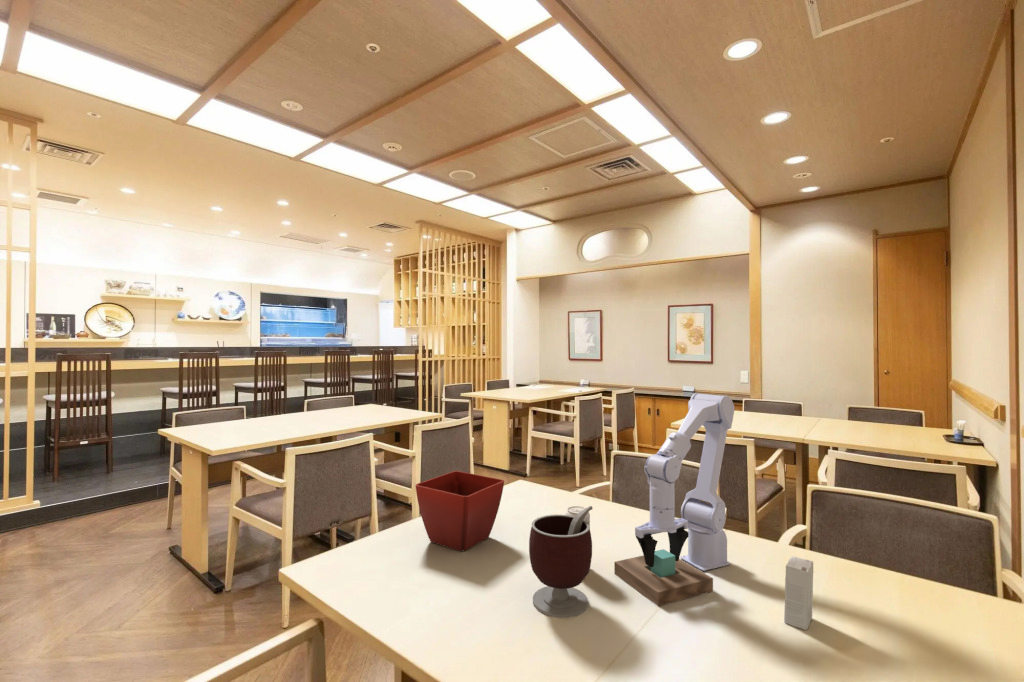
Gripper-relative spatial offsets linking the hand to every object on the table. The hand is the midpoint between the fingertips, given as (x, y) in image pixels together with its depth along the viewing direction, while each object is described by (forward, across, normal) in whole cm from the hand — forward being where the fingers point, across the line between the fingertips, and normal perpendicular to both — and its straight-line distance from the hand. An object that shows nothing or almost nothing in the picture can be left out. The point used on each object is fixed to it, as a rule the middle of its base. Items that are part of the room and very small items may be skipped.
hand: (662, 562), depth 115 cm
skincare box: (+5, +15, -24) cm, 29 cm away
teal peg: (+5, 0, 0) cm, 5 cm away
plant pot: (+5, -37, +43) cm, 57 cm away
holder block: (+5, 0, 0) cm, 5 cm away
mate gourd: (+5, -26, +2) cm, 27 cm away
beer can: (+5, -15, +14) cm, 21 cm away
